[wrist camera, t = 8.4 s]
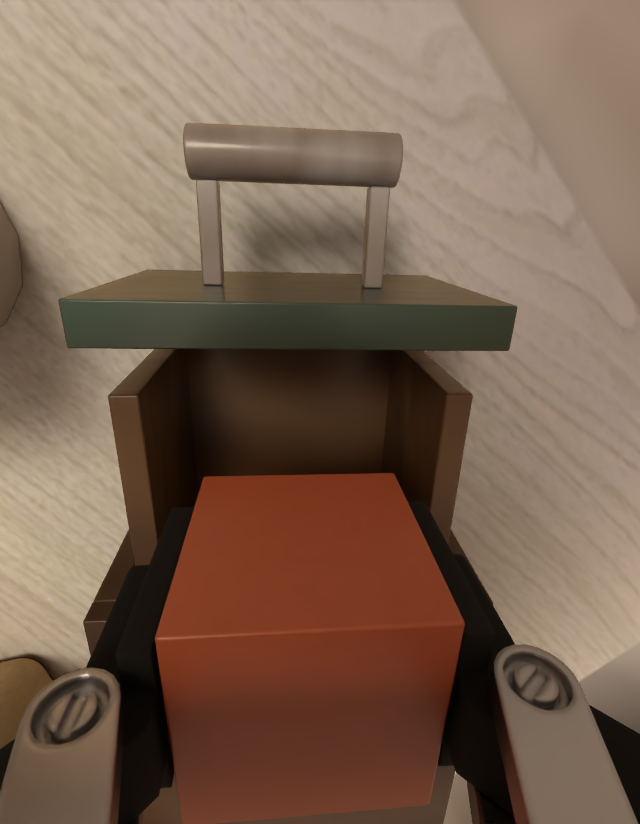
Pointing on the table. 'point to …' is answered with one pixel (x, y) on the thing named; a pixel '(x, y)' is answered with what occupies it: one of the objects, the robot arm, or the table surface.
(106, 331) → the drawer
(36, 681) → the flower pot
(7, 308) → the cup
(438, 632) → the block
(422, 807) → the cabinet
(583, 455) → the table surface
